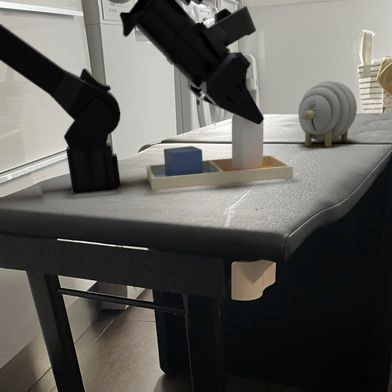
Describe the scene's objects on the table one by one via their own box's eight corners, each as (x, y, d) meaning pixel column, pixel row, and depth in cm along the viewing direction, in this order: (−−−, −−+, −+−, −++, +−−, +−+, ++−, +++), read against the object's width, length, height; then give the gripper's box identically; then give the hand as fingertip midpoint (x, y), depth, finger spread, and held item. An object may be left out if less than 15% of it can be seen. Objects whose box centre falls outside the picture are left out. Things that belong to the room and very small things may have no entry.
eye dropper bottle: (224, 168, 82) (222, 79, 77) (257, 164, 84) (257, 77, 79) (237, 172, 79) (237, 79, 73) (271, 168, 81) (273, 77, 75)
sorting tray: (152, 194, 76) (151, 178, 75) (147, 179, 85) (146, 165, 84) (292, 181, 78) (293, 166, 77) (272, 168, 88) (272, 154, 87)
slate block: (174, 185, 77) (171, 152, 75) (166, 180, 81) (163, 149, 79) (203, 181, 78) (202, 149, 76) (194, 176, 82) (192, 145, 80)
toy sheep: (364, 138, 110) (369, 77, 105) (336, 151, 98) (340, 83, 93) (314, 137, 116) (317, 79, 110) (281, 150, 103) (282, 85, 98)
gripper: (232, -29, 62) (320, 75, 68) (205, -10, 78) (278, 72, 85) (168, 53, 65) (258, 145, 71) (155, 55, 81) (229, 130, 88)
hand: (257, 120), depth 79 cm, fingers closed on eye dropper bottle, 5 cm apart
